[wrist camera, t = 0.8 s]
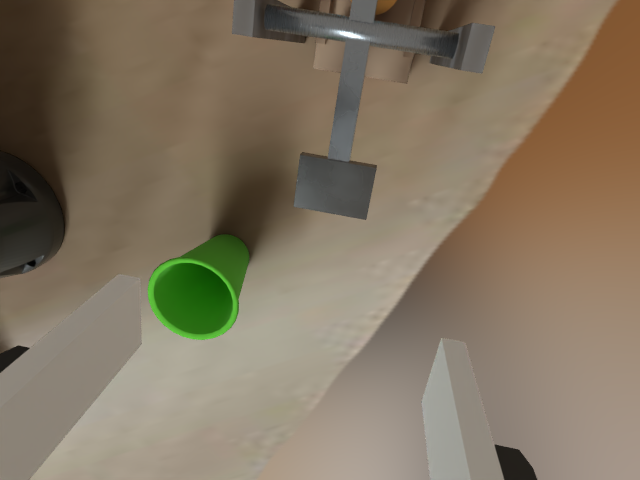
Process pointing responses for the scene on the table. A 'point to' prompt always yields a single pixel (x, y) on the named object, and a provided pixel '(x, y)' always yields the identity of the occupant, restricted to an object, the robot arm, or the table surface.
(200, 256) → the cup
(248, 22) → the grey angular frame
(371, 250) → the table surface
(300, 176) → the lever
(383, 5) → the ball
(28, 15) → the table surface
